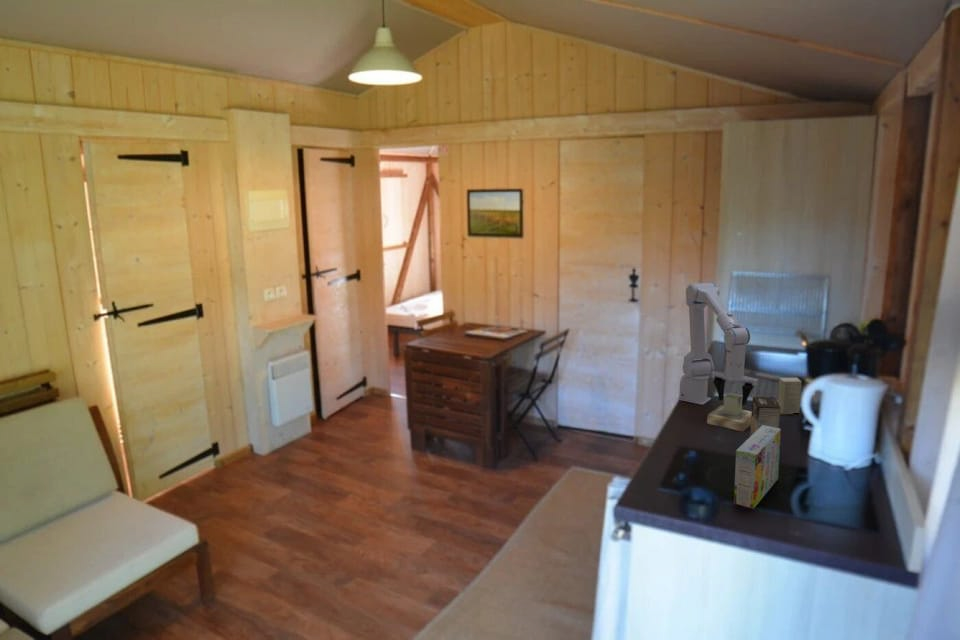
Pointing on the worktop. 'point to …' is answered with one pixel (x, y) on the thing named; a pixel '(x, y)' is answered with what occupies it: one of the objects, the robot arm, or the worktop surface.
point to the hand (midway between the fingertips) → (732, 401)
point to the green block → (732, 404)
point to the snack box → (757, 466)
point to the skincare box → (789, 395)
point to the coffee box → (764, 413)
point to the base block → (730, 419)
